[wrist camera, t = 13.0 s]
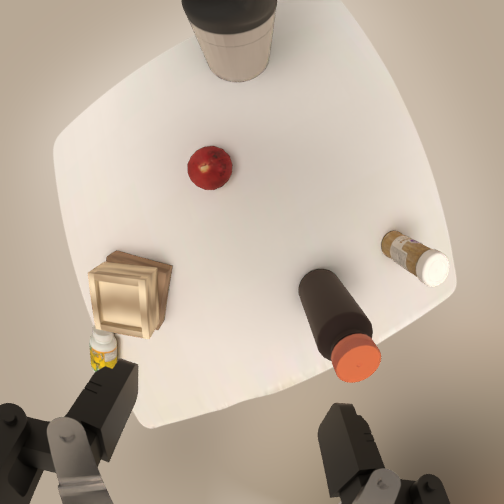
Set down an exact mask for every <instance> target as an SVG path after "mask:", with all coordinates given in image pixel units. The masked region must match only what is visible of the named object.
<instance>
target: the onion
mask: <svg viewBox="0 0 504 504" xmlns="http://www.w3.org/2000/svg"><path fill="white" fill-rule="evenodd" d="M231 174H232V162H231V159H230V156H229V155H228V154H227V153H226V152H225V151H224V150H223V149H221V148H218V147H215V146H209V147H203V148H201V149H199V150H197V151H196V152H195V153H194V154H193V155H192V156H191V158H190V160H189V162H188V175H189V177H190V179H191V181H192V182H193V183H194V184H195V185H196V186H198V187H200V188H202V189H205V190H215V189H217V188H220V187H222V186H223V185H224V184H225V183H226V182H227V181H228V180H229V178H230V176H231Z"/></svg>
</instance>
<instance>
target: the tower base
mask: <svg viewBox="0 0 504 504" xmlns="http://www.w3.org/2000/svg"><path fill="white" fill-rule="evenodd" d="M106 262H110V263H119V264H128V265H137V266H146V267H156V268H157V273H158V302H159V320H160V322H159V324H158V325H157V327H156V330H159V328H160V326H161V325H162V323H163V321H164V319H165V311H166V304H167V298H168V291H169V284H170V278H171V272H172V266H171V265H168V264H164V263H160V262H156V261H153V260H149V259H146V258H142V257H138V256H135V255H131V254H128V253H124V252H121V251H117V250H116V251H115V252H113V253H112V254H110V255H108V256H107V258H106Z"/></svg>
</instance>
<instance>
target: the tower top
mask: <svg viewBox="0 0 504 504" xmlns="http://www.w3.org/2000/svg"><path fill="white" fill-rule="evenodd" d="M88 279H89V288H90V295H91V303H92V309H93V316H94V322H95V327H96V329H99V330H103V331H108V332H113V333H118V334H123V335H128V336H134V337H140V338H145V339H150V337H151V336H152V334H153V332H154V330H155V329H156V327H157V325H158V324H159V322H160V320H159V302H158V273H157V268H156V267H146V266H137V265H128V264H119V263H110V262H103V263H102V264H100V265H99V266H97V267H96V268H94V269H93V270H91V271H90V272H88Z"/></svg>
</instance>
